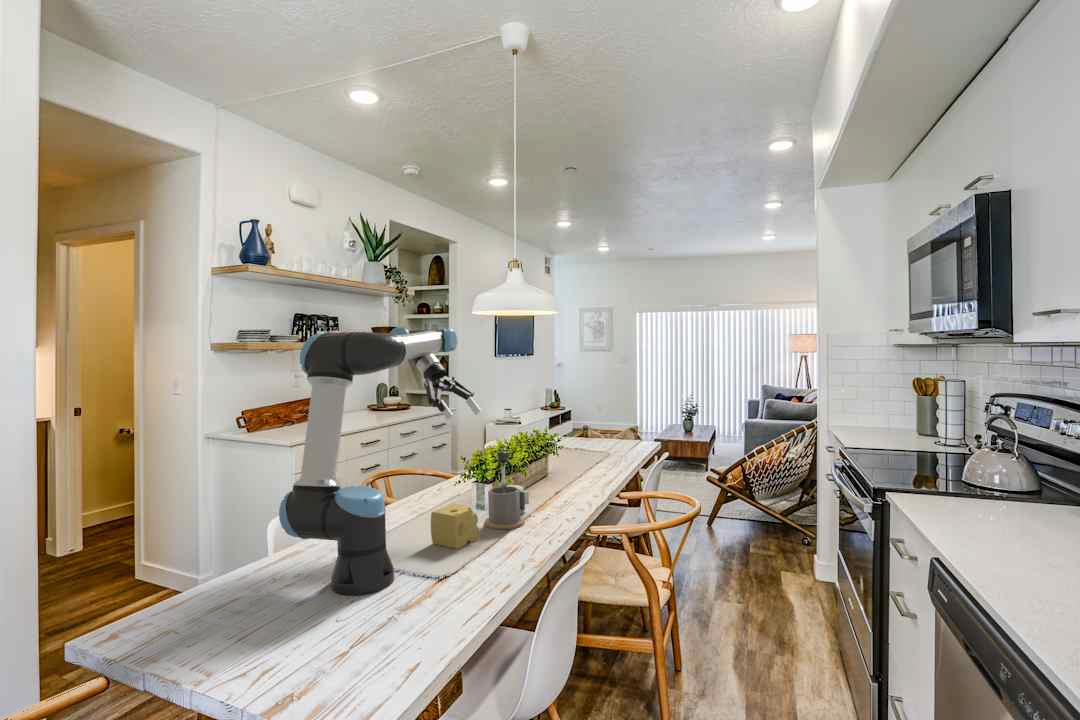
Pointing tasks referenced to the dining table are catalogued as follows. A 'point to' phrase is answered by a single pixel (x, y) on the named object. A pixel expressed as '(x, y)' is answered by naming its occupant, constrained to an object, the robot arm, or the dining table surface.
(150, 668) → the dining table surface
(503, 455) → the plunger
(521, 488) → the pale green dome knob
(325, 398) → the robot arm
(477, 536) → the cheese
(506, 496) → the grey octagonal cup
